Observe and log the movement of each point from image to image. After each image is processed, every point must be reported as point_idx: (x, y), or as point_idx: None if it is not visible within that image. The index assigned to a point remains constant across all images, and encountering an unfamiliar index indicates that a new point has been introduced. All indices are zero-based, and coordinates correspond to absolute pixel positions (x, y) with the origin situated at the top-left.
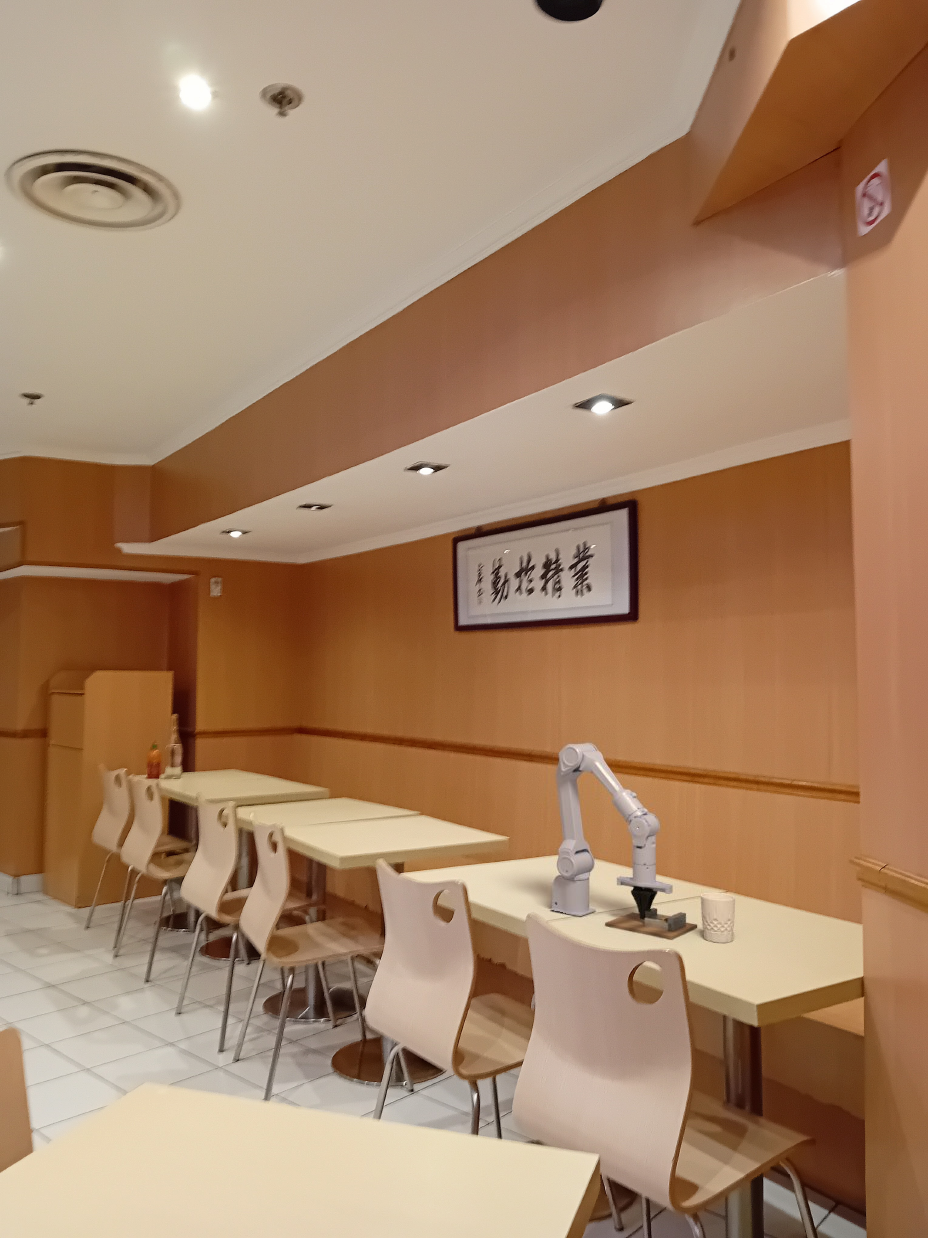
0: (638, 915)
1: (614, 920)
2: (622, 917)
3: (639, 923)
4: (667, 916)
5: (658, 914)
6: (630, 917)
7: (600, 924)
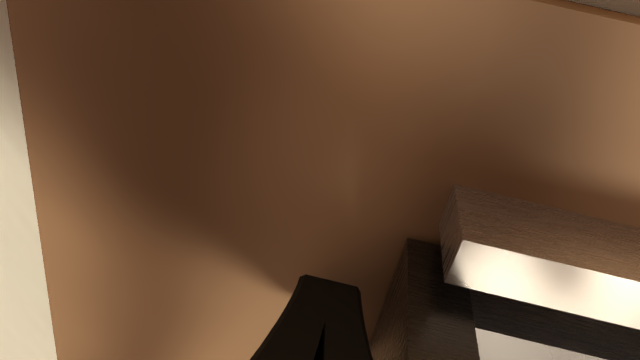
0: (151, 34)
1: (74, 324)
2: (62, 206)
3: None
4: (623, 322)
5: (483, 273)
6: (125, 172)
7: (20, 338)
